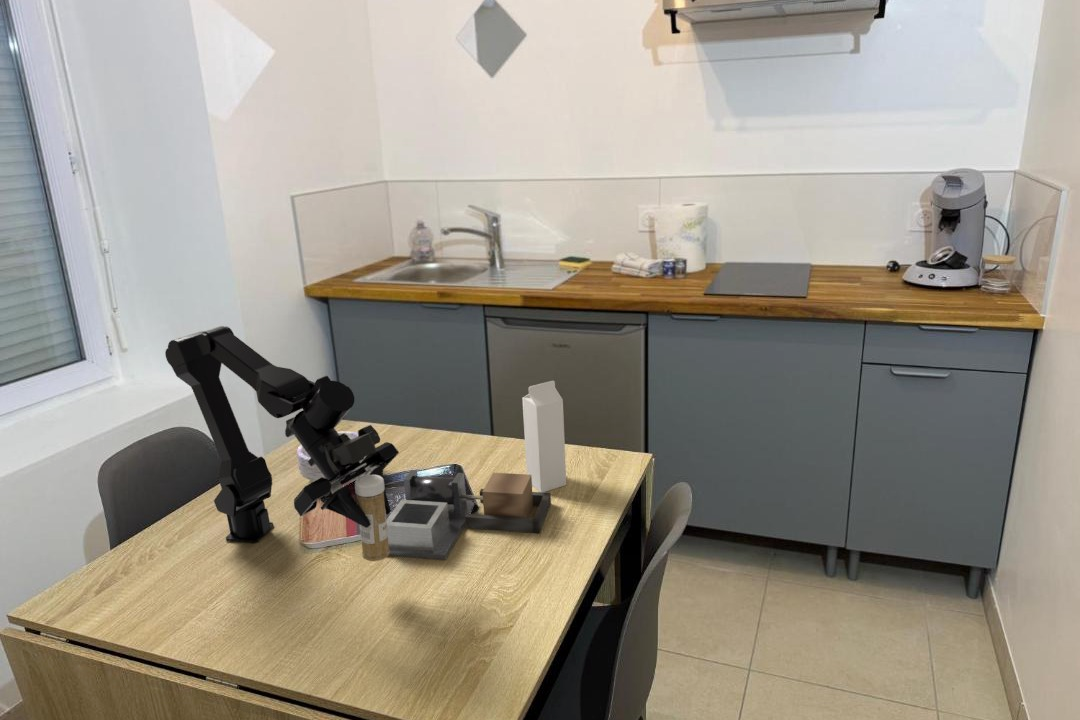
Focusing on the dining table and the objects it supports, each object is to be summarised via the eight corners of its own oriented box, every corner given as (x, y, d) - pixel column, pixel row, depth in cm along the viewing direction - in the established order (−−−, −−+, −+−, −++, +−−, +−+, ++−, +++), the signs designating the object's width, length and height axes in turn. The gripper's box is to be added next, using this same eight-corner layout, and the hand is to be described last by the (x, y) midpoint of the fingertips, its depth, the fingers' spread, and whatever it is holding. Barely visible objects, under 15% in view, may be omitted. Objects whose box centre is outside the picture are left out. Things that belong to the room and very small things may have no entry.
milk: (566, 485, 161) (563, 384, 154) (540, 493, 158) (536, 391, 151) (551, 473, 166) (547, 375, 159) (526, 481, 163) (521, 382, 156)
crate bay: (466, 528, 147) (463, 494, 145) (482, 499, 157) (479, 467, 155) (539, 533, 144) (537, 499, 142) (550, 503, 154) (549, 471, 152)
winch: (370, 553, 141) (365, 517, 138) (409, 500, 158) (405, 467, 156) (472, 562, 137) (468, 524, 134) (500, 506, 154) (497, 472, 152)
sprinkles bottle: (394, 556, 128) (388, 480, 124) (368, 565, 125) (361, 488, 122) (383, 545, 132) (376, 471, 128) (357, 553, 129) (349, 478, 125)
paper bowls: (389, 471, 171) (384, 437, 168) (337, 502, 159) (332, 466, 156) (339, 456, 179) (334, 424, 176) (286, 485, 167) (280, 451, 164)
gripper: (295, 439, 116) (357, 525, 114) (384, 396, 130) (441, 471, 128) (268, 475, 123) (327, 556, 120) (356, 430, 137) (409, 502, 135)
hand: (379, 519), depth 126 cm, fingers closed on sprinkles bottle, 4 cm apart
